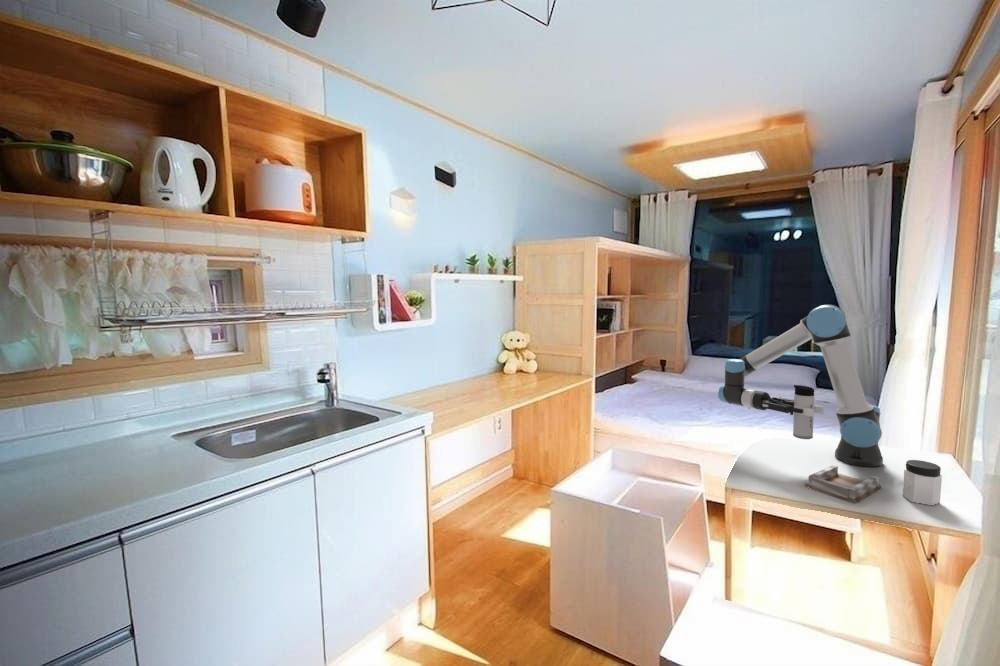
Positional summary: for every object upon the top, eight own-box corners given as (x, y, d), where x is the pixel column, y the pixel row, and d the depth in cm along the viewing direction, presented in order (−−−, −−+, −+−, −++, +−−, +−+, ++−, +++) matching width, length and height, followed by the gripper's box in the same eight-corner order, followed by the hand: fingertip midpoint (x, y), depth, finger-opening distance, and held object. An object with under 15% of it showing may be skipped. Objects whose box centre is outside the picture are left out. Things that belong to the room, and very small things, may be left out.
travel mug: (790, 433, 176) (792, 383, 174) (810, 435, 173) (812, 384, 171) (793, 438, 170) (795, 387, 168) (814, 440, 167) (816, 388, 166)
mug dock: (832, 474, 167) (832, 463, 167) (881, 488, 154) (882, 477, 154) (804, 486, 157) (805, 475, 157) (855, 503, 144) (855, 491, 144)
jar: (896, 493, 151) (898, 458, 150) (923, 494, 150) (925, 459, 149) (917, 505, 142) (920, 469, 141) (946, 506, 141) (949, 470, 140)
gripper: (768, 405, 191) (830, 417, 171) (742, 412, 182) (804, 425, 162) (769, 387, 191) (831, 398, 171) (743, 394, 181) (805, 405, 161)
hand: (818, 411), depth 166 cm, fingers closed on travel mug, 6 cm apart
